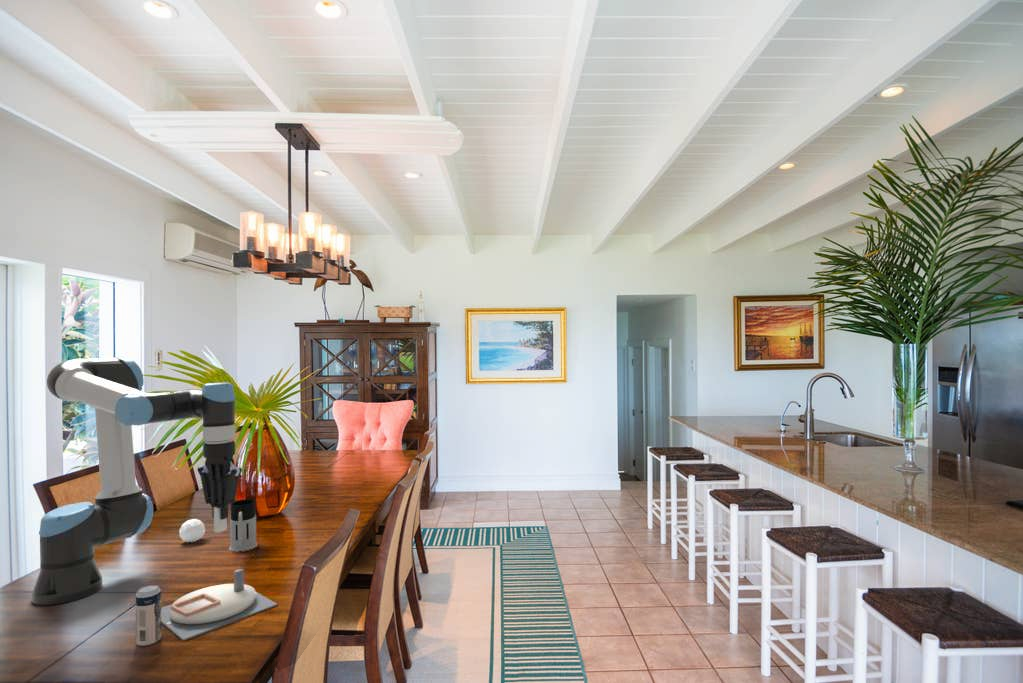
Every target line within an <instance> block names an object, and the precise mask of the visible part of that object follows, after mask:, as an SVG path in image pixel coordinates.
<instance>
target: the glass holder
mask: <svg viewBox="0 0 1023 683" xmlns="http://www.w3.org/2000/svg"><path fill="white" fill-rule="evenodd" d="M229 525H230V526H229V529H230V530H229V532H230V534H229V536H230V537H229V538H230V545H229V548H228V551H230V550H231V551H230V552H232V551H235V553H237V552H238V553H240V552H239V551H242V552H246V550H247V551H251V550H253V548H254V549H256V548H257V547H258V546H257V545H258V541H257V513H256V500H255V499H239V500H235V502H234V503H232V504H230V517H229ZM255 547H256V548H255ZM250 549H251V550H250Z"/></svg>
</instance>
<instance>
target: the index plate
mask: <svg viewBox="0 0 1023 683" xmlns="http://www.w3.org/2000/svg"><path fill="white" fill-rule="evenodd" d="M172 604H173V603H172ZM172 604H169V605H165V606H161V625H163V626H165V627H166V628H167V629H168V630H170V631H171V632H172V633H173V634H174V635H175V636H177V637H178V638H179V639H180V640H181V641H182V642H185V641H188V640H190V639H193V638H195V637H199V636H200V635H203V634H206V633H208V632H212V631H214V630H217V629H219V628H221V627H224V626H227V625H230V624H232V623H235V622H237V621H240V620H243V619H245V618H248V617H250V616H253V615H256V614H259V613H262V612H263V611H267V610H270V609H272V608H274V607H277V606H278V602H275V601H273V600H272V599H270V598H268V597H266V596H265V595H262V594H261V593H259V592H257V591H255V601H254V603H253V604H252V605H251V606H250V607H248V608H247V609H245V610H244V611H242V612H240V613H238V614H236V615H233V616H231V617H228V618H225V619H222V620H218V621H214V622H209V623H202V624H182V623H177V622H175V621H173V620H172V619H171V617H170V608H171V605H172Z"/></svg>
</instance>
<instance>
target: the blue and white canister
mask: <svg viewBox="0 0 1023 683" xmlns="http://www.w3.org/2000/svg"><path fill="white" fill-rule="evenodd" d="M161 608H162V590H161V588H160V586H159V585H158V584H150V585H146V586H142V587H140V588H139V589H138V590H137V591H136V594H135V643H136V645H137V646H141V647H149V646H151V645H153V644H156V643H157V642H159V641H160V640H161V638H162V623H161Z"/></svg>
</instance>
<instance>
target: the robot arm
mask: <svg viewBox="0 0 1023 683" xmlns="http://www.w3.org/2000/svg"><path fill="white" fill-rule="evenodd" d="M142 371H143V370H142V369H141V368H140V366H139V364H137V363H136V361H134V360H133V359H131V358H127V357H99V358H98V357H97V358H96V357H94V358H93V357H91V358H73V359H71V358H70V359H67V360H64V361H62V362H60V363H59V364H57V365H55V366H54V367H53V368H52V369H51V370H50V371H49V373H48V376H47V378H46V387H47V389H48V391H49V392H50V393H51V395H53V397H55V398H57V399H60V400H63V401H66V402H67V403H68V402H70V403H77V402H79V403H83V404H86V405H88V406H90V407H91V408H92V409H93V410H95V411H94V412H95V424H96V425H95V426H96V440H97V454H98V467H99V469H98V470H99V483H100V490H99V492H98V493H97V494H96V496H95V497H94V502H95V503H93V502H91V501H82V502H81V501H79V502H76V503H70V504H65V505H63V506H59V507H57V508H54V509H52V510H50V511H48V512H47V513H45V515H43V516H42V517H41V519H40V524H39V525H40V526H39V530H38V531H39V532H38V535H39V554H40V555H39V560H40V561H39V562H40V563H39V564H40V566H39V567H40V570H39V573H38V576H37V578H36V581H35V583H34V586H33V590H32V591H31V602H32V604H34V605H38V606H52V605H58V604H65V603H70V602H73V601H77V600H80V599H83V598H85V597H88V596H91V595H92V594H94V593H97V592H98V591H100V589H102V587H103V576H102V574H101V572H100V569H99V567H98V565H97V563H96V561H95V548H97V547H100V546H104V545H106V544H110V543H114V542H117V541H120V540H125V539H131V538H132V537H133V536H136V535H139V534H142V533H143V532H145V531H146V530H147V529H148V527H149V526H150V525H151V522H152V520H153V516H154V505H153V501H152V500H151V499H152V498H151V497H150V496H149V495H148V494H146V493H143V488H142V487H140V486H138V485H137V479H136V468H135V467H136V466H135V455H134V442H133V441H134V438H133V426H143V425H147V424H157V423H162V422H164V423H165V422H170V421H178V420H179V421H180V420H188V419H202V441H203V442H204V443H203V445H202V449H203V450H202V455H203V458H205V461H204V465H203V466H200V467H197V473H198V474H199V476H200V481H201V485H202V491H203V495H204V501H205V502H204V503H205V504H206V505H210V506H211V509H212V510H211V511H212V512H211V513H212V517H211V518H212V519H213V533H215V534H216V533H217V534H220V533H222V532H224V531H227V530H228V524H227V523H228V521H227V520H228V517H229V506H230V505H231V504H232V503H234V502H235V501H236V496H237V491H238V486H239V485H238V484H239V479H240V477H241V474H242V472H243V468H242V467H237V466H236V465H235V461H234V456H235V454H236V441H235V439H236V428H235V427H236V426H235V425H236V406H235V405H236V404H235V403H236V402H235V401H236V395H235V386H234V384H233V383H232V382H209V383H204V384H203V385H202V389H201V390H200V389H199V390H196V389H181V390H178V391H173V392H174V393H170V392H171V391H167V392H165V391H164V392H156V393H155V392H146V391H143V386H144V381H145V380H144V374H143V372H142Z"/></svg>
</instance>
